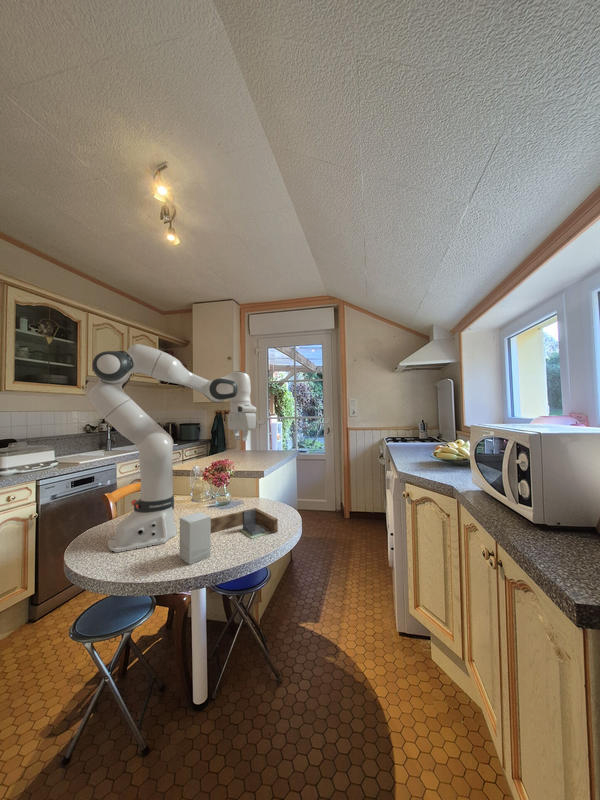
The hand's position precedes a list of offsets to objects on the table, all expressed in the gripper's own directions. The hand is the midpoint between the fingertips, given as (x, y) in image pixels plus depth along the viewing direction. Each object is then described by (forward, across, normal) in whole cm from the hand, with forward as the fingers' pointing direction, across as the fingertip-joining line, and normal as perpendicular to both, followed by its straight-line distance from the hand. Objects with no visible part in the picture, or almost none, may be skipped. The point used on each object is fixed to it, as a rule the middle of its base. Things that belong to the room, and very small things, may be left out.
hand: (240, 440), depth 125 cm
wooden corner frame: (+34, +12, -6) cm, 37 cm away
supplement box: (+34, +20, -26) cm, 48 cm away
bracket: (+34, +14, -2) cm, 37 cm away
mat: (+34, +15, -2) cm, 37 cm away
